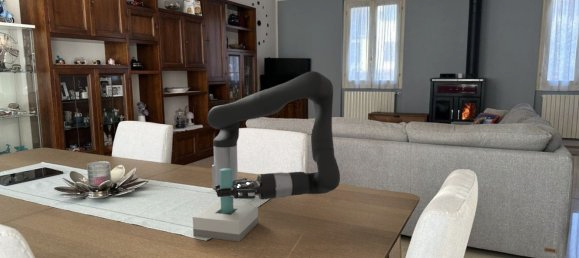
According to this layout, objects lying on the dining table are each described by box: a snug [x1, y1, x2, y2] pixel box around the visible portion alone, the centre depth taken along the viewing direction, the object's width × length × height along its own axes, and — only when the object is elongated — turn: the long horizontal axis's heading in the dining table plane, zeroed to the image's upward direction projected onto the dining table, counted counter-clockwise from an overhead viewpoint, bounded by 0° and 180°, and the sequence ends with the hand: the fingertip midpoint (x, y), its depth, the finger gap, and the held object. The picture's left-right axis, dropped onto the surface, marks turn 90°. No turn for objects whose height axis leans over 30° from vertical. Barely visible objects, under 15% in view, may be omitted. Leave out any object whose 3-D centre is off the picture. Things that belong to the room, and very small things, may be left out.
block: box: [192, 201, 259, 242], centre depth 113 cm, size 14×14×6 cm
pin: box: [219, 168, 234, 215], centre depth 112 cm, size 4×4×14 cm
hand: (216, 191), depth 111 cm, fingers closed on pin, 3 cm apart
